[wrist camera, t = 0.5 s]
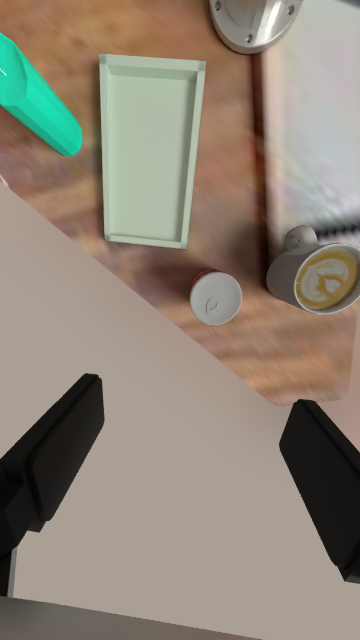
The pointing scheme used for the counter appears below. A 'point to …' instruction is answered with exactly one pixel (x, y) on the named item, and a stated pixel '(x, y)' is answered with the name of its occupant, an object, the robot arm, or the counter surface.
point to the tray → (149, 147)
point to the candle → (35, 101)
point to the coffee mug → (315, 273)
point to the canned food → (215, 297)
